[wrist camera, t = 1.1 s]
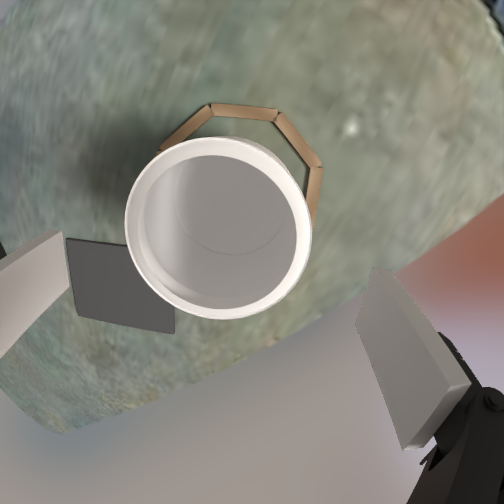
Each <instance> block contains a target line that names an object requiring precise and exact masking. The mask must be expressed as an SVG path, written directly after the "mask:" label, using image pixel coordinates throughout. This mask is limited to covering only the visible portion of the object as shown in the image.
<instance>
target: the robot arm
mask: <svg viewBox="0 0 504 504" xmlns="http://www.w3.org/2000/svg"><path fill="white" fill-rule="evenodd" d="M68 287H69V281H68V274H67V268H66V261H65V253H64V245H63V235H62V231H60V230H51V229H49V230H48V231H46V232H44V233H42V234H41V235H39V236H37V237H36V238H34V239H32V240H31V241H29V242H27V243H26V244H24V245H23V246H21V247H19V248H18V249H16V250H15V251H13V252H12V253H10V254H9V255H7V256H6V253H5V251H4V249H3V247H2V245H1V243H0V358H1V357H2V356H3V355H4V354H5V353H6V352H7V350H8V349H9V348H10V347H11V346H12V345H13V344H14V343H15V342H16V340H17V339H18V338H19V337H20V336H21V335H22V334H23V333H24V332H25V331H26V330H27V329H28V328H29V327H30V325H31V324H32V323H33V322H34V321H35V320H36V319H37V318H38V317H39V316H40V315H41V314H42V313H43V312H44V311H45V310H46V309H47V308H48V307H49V306H50V305H51V304H52V303H53V302H54V301H55V300H56V299H57V298H58V297H59V296H60V295H61V294H62V293H63V292H64V291H65V290H66V289H67V288H68ZM355 325H356V328H357V330H358V333H359V335H360V338H361V340H362V342H363V345H364V347H365V350H366V352H367V355H368V357H369V360H370V362H371V365H372V367H373V370H374V372H375V375H376V378H377V380H378V383H379V386H380V388H381V391H382V394H383V396H384V399H385V402H386V405H387V407H388V410H389V413H390V416H391V418H392V421H393V424H394V427H395V430H396V433H397V436H398V439H399V442H400V445H401V448H402V451H406V450H411V449H417V448H422V447H424V446H425V445H426V444H427V442H428V441H429V440H430V439H431V438H432V437H433V435H434V437H435V440H436V442H437V444H436V445H435V447H434V448H433V449H432V450H431V451H430V452H429V453H428V454H427V455H426V456H425V457H424V459H423V460H422V461H421V462H420V465H423V464H424V463H425V462H426V461H427V462H426V465H425V467H424V469H423V472H422V474H421V476H420V478H419V480H418V482H417V484H416V486H415V488H414V490H413V492H412V494H411V496H410V498H409V500H408V502H407V503H406V504H504V395H503V394H502V393H501V392H500V391H498V390H497V389H495V388H491V387H483V388H482V386H481V384H480V383H479V381H478V380H477V378H476V377H475V375H474V374H473V373H472V371H471V369H470V368H469V366H468V365H467V364H466V362H465V361H463V358H462V356H461V355H460V353H457V351H458V350H457V349H456V348H455V346H454V345H453V343H452V342H451V341H450V340H449V339H448V338H447V337H445V336H444V335H443V334H442V333H440V332H437V331H436V330H435V329H434V327H433V326H432V324H431V323H430V322H429V320H428V319H427V318H426V316H425V315H424V314H423V313H422V311H421V310H420V308H419V307H418V306H417V304H416V303H415V302H414V300H413V299H412V298H411V296H410V295H409V294H408V293H407V291H406V290H405V289H404V288H403V286H402V285H401V284H400V283H399V281H398V280H397V279H396V278H395V276H394V275H393V274H392V272H391V271H390V270H389V269H382V268H372V271H371V275H370V278H369V282H368V285H367V288H366V292H365V295H364V298H363V301H362V305H361V308H360V311H359V314H358V317H357V320H356V323H355Z"/></svg>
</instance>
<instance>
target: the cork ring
mask: <svg viewBox="0 0 504 504" xmlns="http://www.w3.org/2000/svg"><path fill="white" fill-rule="evenodd" d="M277 114H278V110H277V109H269V108H260V107H251V106H241V105H229V104H215V103H211V108H210V107H209V106H208V105H206V106H205V107H204V108H202V109H201V110H200V111H199V112H198V113H196V114H195V115H194V116H193V117H192V118H190V119H189V120H188V121H187V122H186V123H185V124H184V125H182V126H181V127H180V128H179V129H178V130H177V131H176V132H174V133H173V134H172V135H171V136H170V137H169V138H168V139H167V140H166V141H165V142H163V143H162V144H161V145H160V146H159V148H160V149H161V150H162V151H157V154H156V157H157V156H158V155H159V154H161V153H162V152H164V151H165V150H167V149H169V148H171V147H172V146H175V145H177V144H179V143H182V142H183V141H184V140H185V139H186V138H188V137H189V136H190V135H191V134H192V133H193V132H194V131H196V130H197V129H198V128H199V127H200V126H202V125H203V124H204V123H205V122H206V121H208V120H209V119H210V118H211V117H212V116H225V117H236V118H247V119H256V120H265V121H273V122H274V123H275V124H276V125H277V126H278V128H279V129H280V130H281V131H282V133H283V134H284V135H285V136H286V138H287V139H288V140H289V141H290V143H291V144H292V145H293V147H294V148H295V149H296V151H297V152H298V153H299V154H300V156H301V157H302V158H303V160H304V161H305V162H306V164H307V165H308V166H309V168H310V172H309V178H308V185H307V191H306V198H305V200H306V203H307V206H308V209H309V213H310V218H311V225H312V229H313V226H314V220H315V215H316V209H317V203H318V197H319V191H320V185H321V179H322V172H323V168H320V167H319V166H320V165H321V164H322V163H321V162H320V160H319V159H318V158H317V156H316V155H315V154H314V152H313V151H312V150H311V148H310V147H309V146H308V144H307V143H306V142H305V140H304V139H303V138H302V136H301V135H300V134H299V132H298V131H297V130H296V129H295V127H294V126H293V125H292V124H291V122H290V121H289V120H288V119H287V117H286V116H285V115H284V114H283V112H282V113H280V114H279V115H278V116H277Z"/></svg>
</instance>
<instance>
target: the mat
mask: <svg viewBox="0 0 504 504" xmlns="http://www.w3.org/2000/svg"><path fill="white" fill-rule="evenodd" d="M66 242H67V250H68V259H69V266H70V273H71V279H72V286H73V291H74V297H75V302H76V307H77V312H78V316H82V317H86V318H91V319H95V320H100V321H104V322H109V323H114V324H119V325H124V326H129V327H134V328H139V329H145V330H151V331H156V332H162V333H168V334H174V333H175V318H174V306H173V305H172V304H170V303H169V302H167V301H166V300H164V299H163V298H162V297H160V296H159V295H158V294H157V293H156V292H155V291H154V290H153V289H152V288H151V287H150V286H149V285H148V284H147V283H146V281H145V280H144V279H143V277H142V276H141V275H140V273H139V271H138V270H137V268H136V266H135V264H134V262H133V260H132V258H131V255H130V252H129V249H128V246H127V245H119V244H111V243H103V242H95V241H87V240H79V239H71V238H68V239H66Z"/></svg>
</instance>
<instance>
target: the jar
mask: <svg viewBox="0 0 504 504" xmlns="http://www.w3.org/2000/svg"><path fill="white" fill-rule="evenodd" d="M125 236H126V241H127V246H128V249H129V252H130V255H131V258H132V260H133V262H134V264H135V266H136V268H137V270H138V271H139V273H140V275H141V276H142V277H143V279H144V280H145V281H146V283H147V284H148V285H149V286H150V287H151V288H152V289H153V290H154V291H155V292H156V293H157V294H158V295H159V296H160V297H162V298H163V299H164V300H166V301H167V302H169V303H170V304H172V305H173V306H175V307H177V308H179V309H181V310H183V311H185V312H188V313H191V314H193V315H197V316H201V317H205V318H211V319H236V318H242V317H247V316H251V315H254V314H257V313H259V312H261V311H264V310H266V309H268V308H269V307H271V306H273V305H274V304H276V303H277V302H278V301H280V300H281V299H282V298H283V297H285V296H286V295H287V294H288V293H289V292H290V290H291V289H292V288H293V287H294V286H295V284H296V283H297V282H298V280H299V278H300V277H301V275H302V273H303V271H304V269H305V267H306V264H307V261H308V258H309V254H310V250H311V243H312V225H311V218H310V213H309V209H308V206H307V203H306V200H305V198H304V196H303V194H302V192H301V190H300V188H299V186H298V184H297V183H296V181H295V180H294V178H293V177H292V176H291V174H290V172H289V171H288V169H287V168H286V167H285V165H284V164H283V163H282V162H281V161H280V159H279V158H278V157H277V156H275V155H274V154H273V153H272V152H271V151H269V150H268V149H267V148H265V147H263V146H262V145H260V144H258V143H256V142H253V141H251V140H248V139H245V138H240V137H234V136H216V137H207V138H198V139H193V140H189V141H185V142H182V143H179V144H177V145H175V146H172V147H171V148H169V149H167V150H165V151H164V152H162V153H161V154H159V155H158V156H157V157H155V158H154V159H153V160H152V161H151V162H150V163H149V164H148V165H147V166H146V167H145V168H144V169H143V171H142V172H141V173H140V175H139V176H138V178H137V179H136V181H135V183H134V185H133V187H132V189H131V192H130V194H129V197H128V201H127V205H126V211H125Z"/></svg>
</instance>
